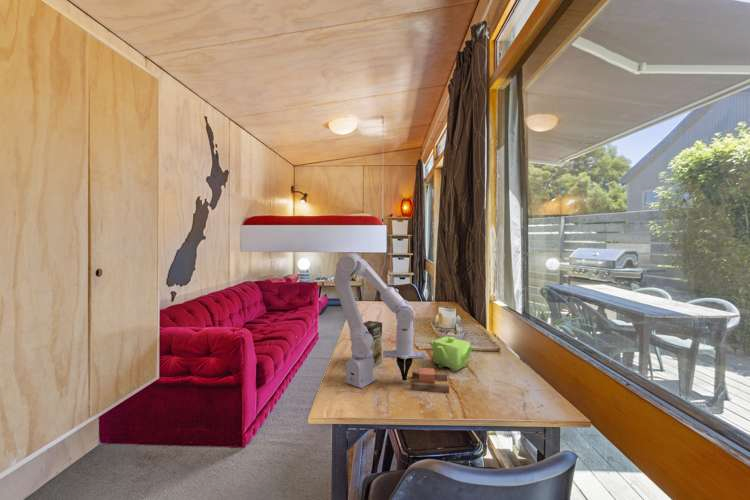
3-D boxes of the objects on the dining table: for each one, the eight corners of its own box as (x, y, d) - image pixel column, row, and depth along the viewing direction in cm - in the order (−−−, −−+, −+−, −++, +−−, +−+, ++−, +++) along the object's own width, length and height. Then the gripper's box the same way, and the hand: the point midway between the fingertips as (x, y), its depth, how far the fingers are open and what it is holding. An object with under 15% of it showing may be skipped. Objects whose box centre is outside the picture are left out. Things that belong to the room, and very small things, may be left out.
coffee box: (370, 370, 123) (370, 327, 122) (355, 367, 127) (355, 325, 126) (382, 362, 131) (383, 322, 130) (368, 359, 134) (369, 319, 133)
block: (419, 387, 110) (419, 373, 110) (419, 380, 115) (419, 367, 115) (434, 388, 110) (434, 374, 109) (433, 381, 115) (434, 368, 114)
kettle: (476, 374, 121) (477, 343, 120) (437, 375, 120) (438, 344, 119) (462, 358, 136) (463, 331, 135) (428, 359, 135) (428, 332, 134)
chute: (411, 390, 108) (411, 384, 108) (412, 376, 118) (412, 371, 118) (449, 392, 106) (449, 386, 106) (446, 379, 116) (446, 373, 116)
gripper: (382, 342, 110) (381, 382, 110) (426, 344, 108) (426, 386, 108) (384, 336, 117) (384, 374, 117) (426, 338, 115) (425, 376, 115)
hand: (404, 379), depth 113 cm, fingers closed
